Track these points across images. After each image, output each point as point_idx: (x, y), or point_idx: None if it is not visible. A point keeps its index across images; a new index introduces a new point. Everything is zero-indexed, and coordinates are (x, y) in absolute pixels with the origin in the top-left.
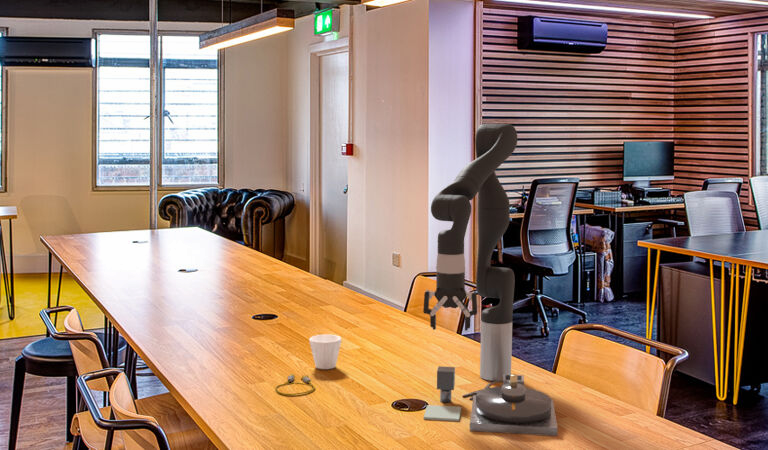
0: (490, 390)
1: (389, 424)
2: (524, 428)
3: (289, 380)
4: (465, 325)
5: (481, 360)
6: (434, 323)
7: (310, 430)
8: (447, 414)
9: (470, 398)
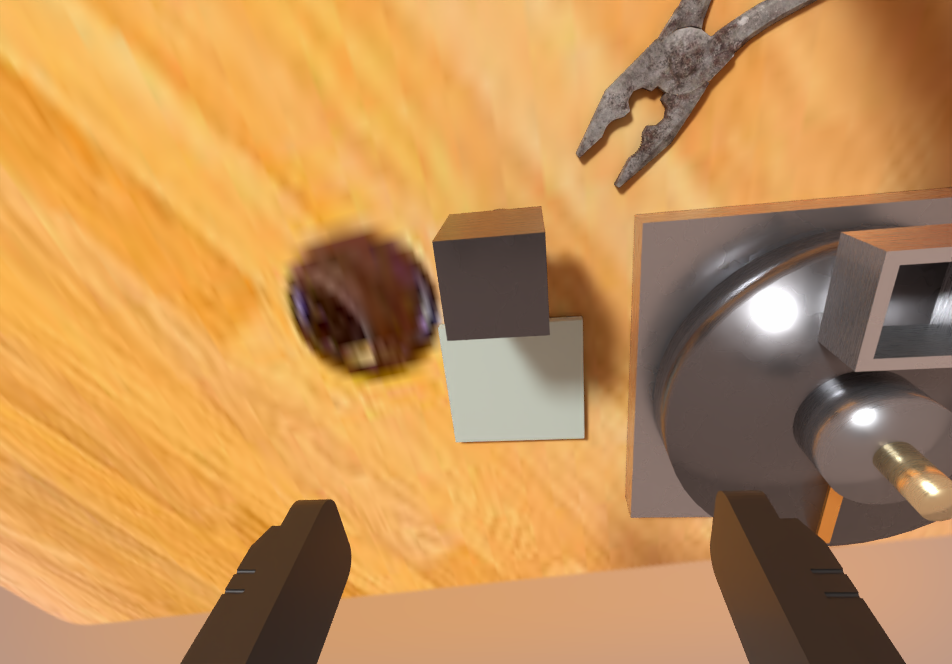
0: (748, 338)
1: (364, 489)
2: None
3: None
4: (744, 626)
5: None
6: (314, 636)
7: (183, 552)
8: (536, 406)
9: (620, 186)
